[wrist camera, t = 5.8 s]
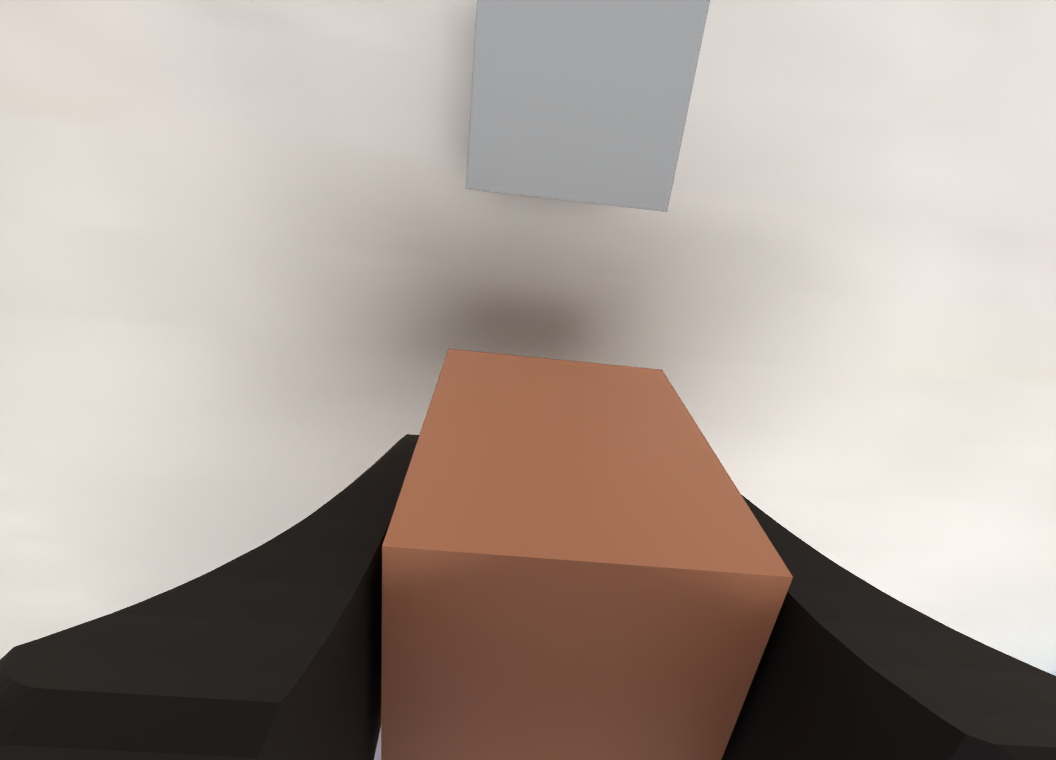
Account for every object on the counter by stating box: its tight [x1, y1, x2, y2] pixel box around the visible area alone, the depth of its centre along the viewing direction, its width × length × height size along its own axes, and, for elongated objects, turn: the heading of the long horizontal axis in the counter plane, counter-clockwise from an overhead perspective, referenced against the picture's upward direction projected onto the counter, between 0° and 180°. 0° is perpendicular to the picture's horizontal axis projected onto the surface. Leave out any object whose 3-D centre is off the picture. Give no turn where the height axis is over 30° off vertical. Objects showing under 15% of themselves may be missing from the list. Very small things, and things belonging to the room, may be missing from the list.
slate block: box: [466, 0, 710, 212], centre depth 14 cm, size 4×4×6 cm
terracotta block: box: [381, 349, 793, 760], centre depth 10 cm, size 4×4×6 cm
